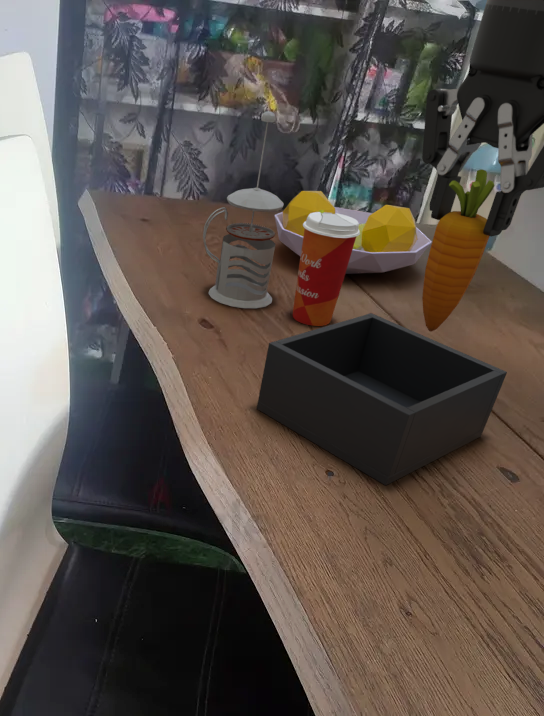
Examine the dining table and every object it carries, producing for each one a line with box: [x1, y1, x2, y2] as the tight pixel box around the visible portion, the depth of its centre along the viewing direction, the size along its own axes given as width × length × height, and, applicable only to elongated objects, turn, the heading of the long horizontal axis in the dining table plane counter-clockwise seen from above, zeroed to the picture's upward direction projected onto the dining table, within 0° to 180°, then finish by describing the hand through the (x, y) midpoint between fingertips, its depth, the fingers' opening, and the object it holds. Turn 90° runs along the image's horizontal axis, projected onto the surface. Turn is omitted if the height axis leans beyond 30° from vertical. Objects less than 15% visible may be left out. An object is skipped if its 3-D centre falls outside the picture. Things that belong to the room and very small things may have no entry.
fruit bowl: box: [274, 190, 433, 275], centre depth 126 cm, size 28×27×11 cm
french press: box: [202, 110, 284, 309], centre depth 104 cm, size 10×12×25 cm
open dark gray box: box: [256, 312, 508, 486], centre depth 81 cm, size 18×18×8 cm
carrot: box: [421, 169, 495, 332], centre depth 70 cm, size 5×5×15 cm
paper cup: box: [292, 212, 360, 327], centre depth 103 cm, size 8×8×14 cm
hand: (464, 225), depth 68 cm, fingers closed on carrot, 5 cm apart
